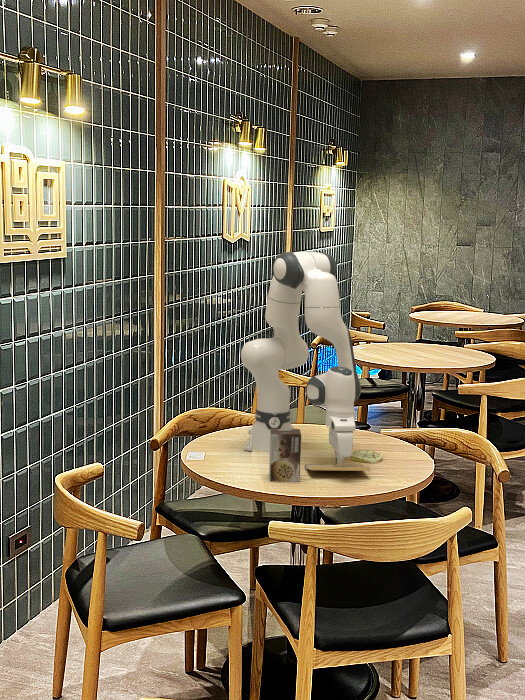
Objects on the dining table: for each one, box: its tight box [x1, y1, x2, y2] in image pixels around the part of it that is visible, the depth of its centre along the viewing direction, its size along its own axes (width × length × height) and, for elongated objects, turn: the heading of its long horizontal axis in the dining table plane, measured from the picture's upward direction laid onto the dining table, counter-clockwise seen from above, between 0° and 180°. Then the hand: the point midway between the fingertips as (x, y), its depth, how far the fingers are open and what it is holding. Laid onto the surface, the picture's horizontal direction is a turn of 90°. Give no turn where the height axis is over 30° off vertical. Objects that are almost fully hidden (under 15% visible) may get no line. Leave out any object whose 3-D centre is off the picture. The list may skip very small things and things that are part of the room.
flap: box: [306, 464, 371, 472], centre depth 257 cm, size 13×18×2 cm
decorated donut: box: [349, 449, 384, 464], centre depth 275 cm, size 10×11×4 cm
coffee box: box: [268, 428, 302, 483], centre depth 248 cm, size 9×6×16 cm
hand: (339, 464), depth 256 cm, fingers closed
